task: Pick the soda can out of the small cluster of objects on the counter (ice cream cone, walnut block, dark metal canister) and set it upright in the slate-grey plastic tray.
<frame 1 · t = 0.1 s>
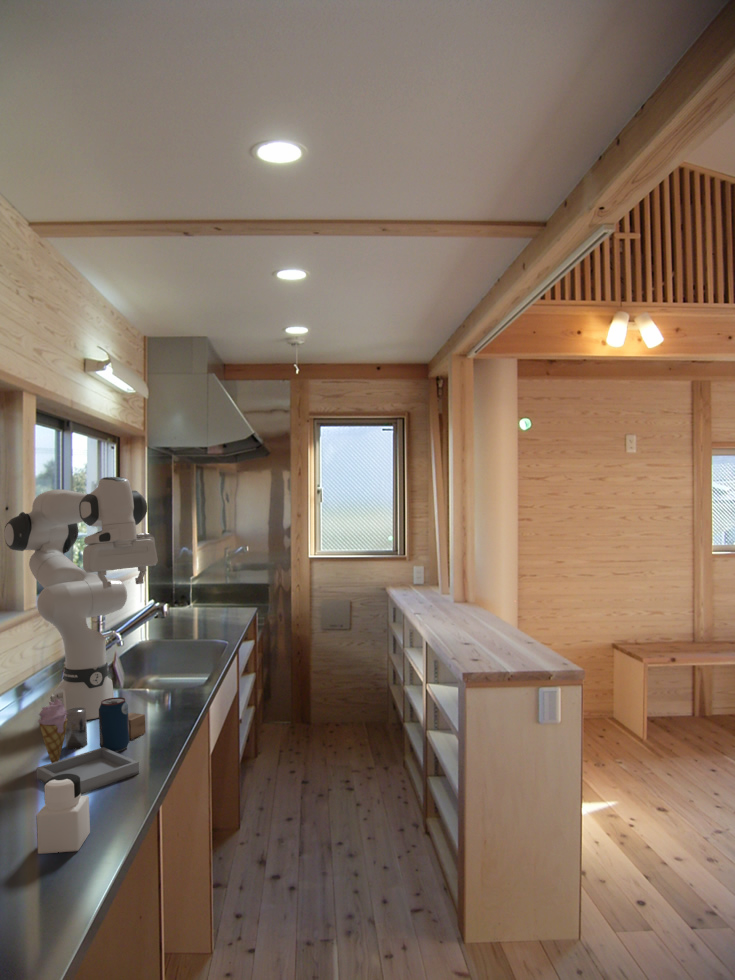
hand: (123, 586, 194), 39 cm above the worktop, tool pointing down, fingers open, 8 cm apart
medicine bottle: (64, 844, 131), on the worktop
slate tray: (88, 776, 162), on the worktop
walnut block: (131, 735, 190), on the worktop
soda can: (114, 749, 180), on the worktop
dark metal canister: (76, 745, 183), on the worktop
ice cream cone: (55, 764, 171), on the worktop
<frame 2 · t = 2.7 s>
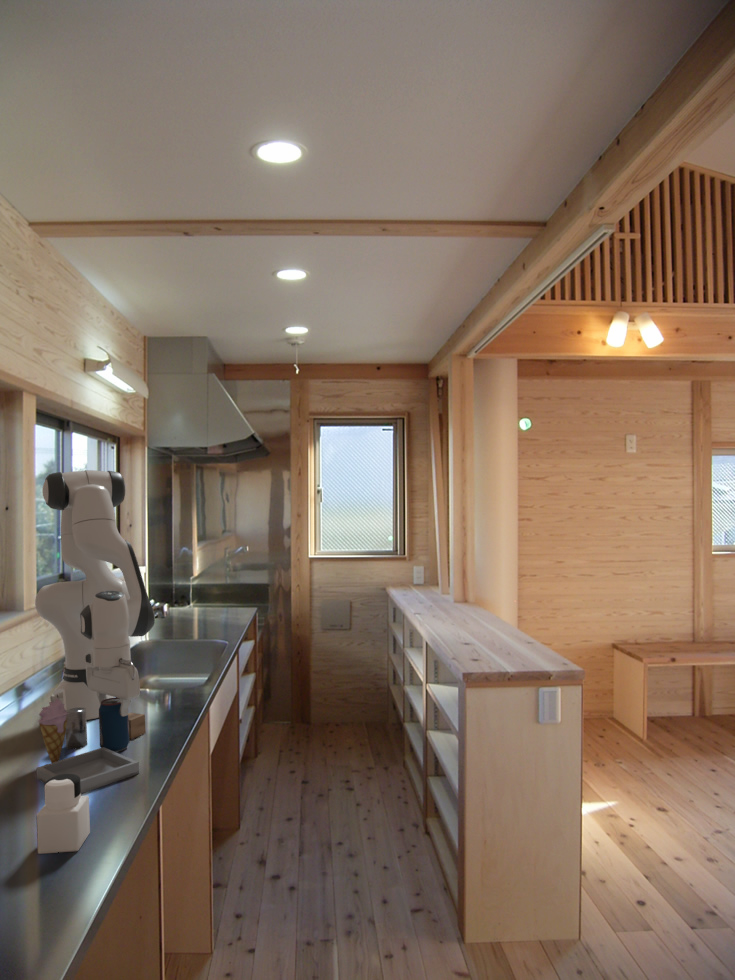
hand: (114, 712, 179), 9 cm above the worktop, tool pointing down, fingers open, 8 cm apart
soda can: (114, 749, 180), on the worktop, touching gripper
everything else where it was.
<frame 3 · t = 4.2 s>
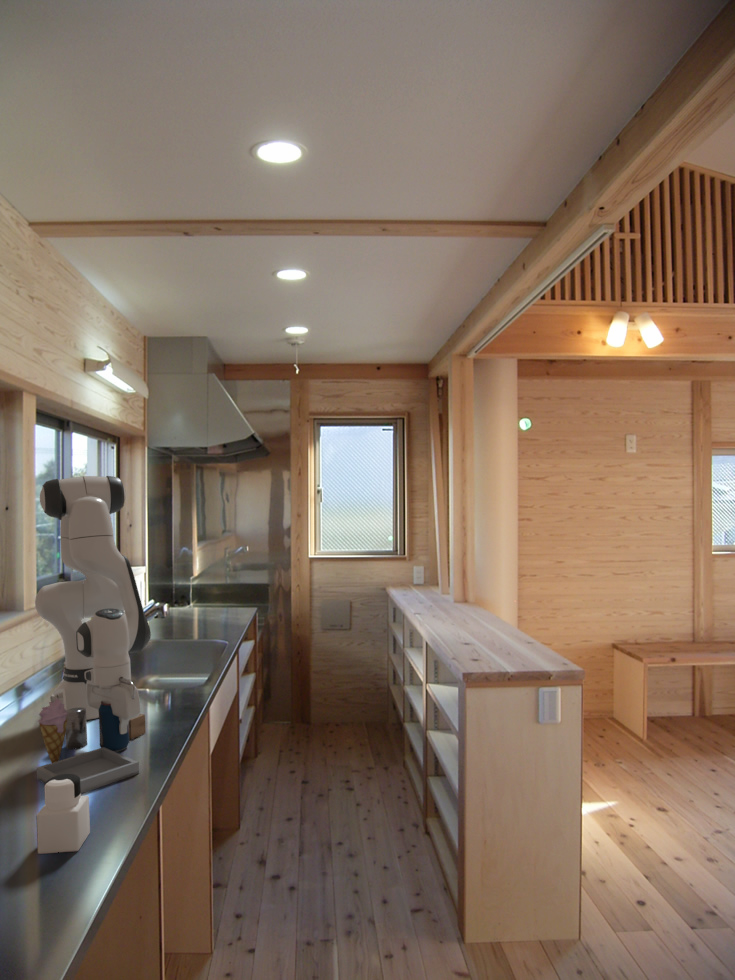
hand: (114, 730, 180), 5 cm above the worktop, tool pointing down, fingers closed on soda can, 7 cm apart
soda can: (114, 749, 180), on the worktop, touching gripper
everything else where it was.
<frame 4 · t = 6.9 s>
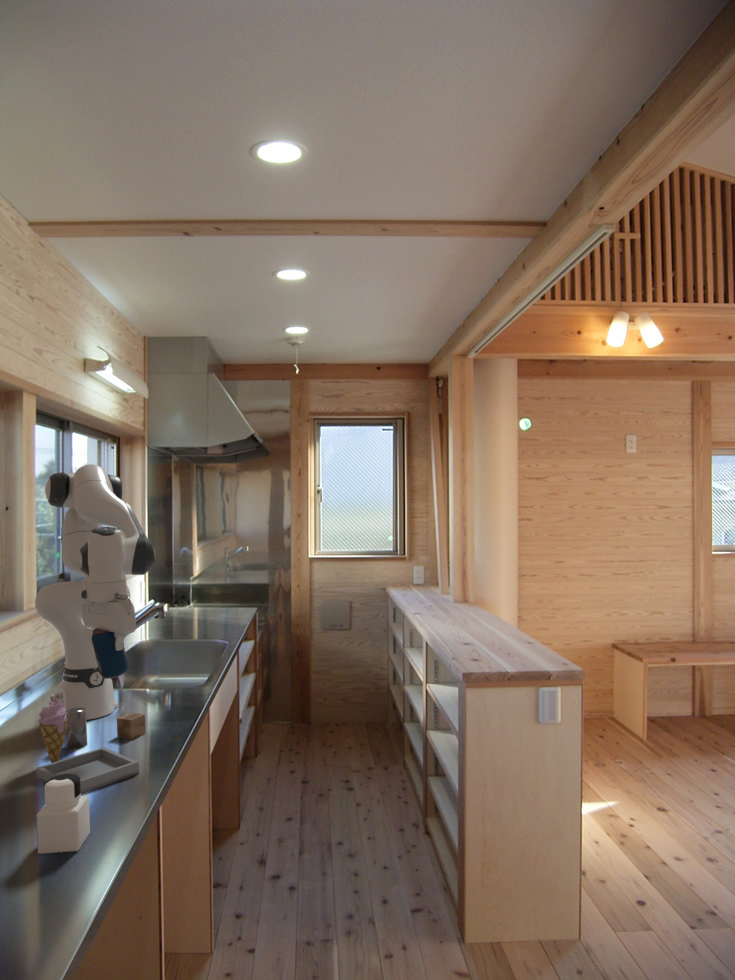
hand: (110, 648, 179), 25 cm above the worktop, tool pointing down, fingers closed on soda can, 7 cm apart
soda can: (115, 674, 179), point 19 cm above the worktop, touching gripper
everything else where it was.
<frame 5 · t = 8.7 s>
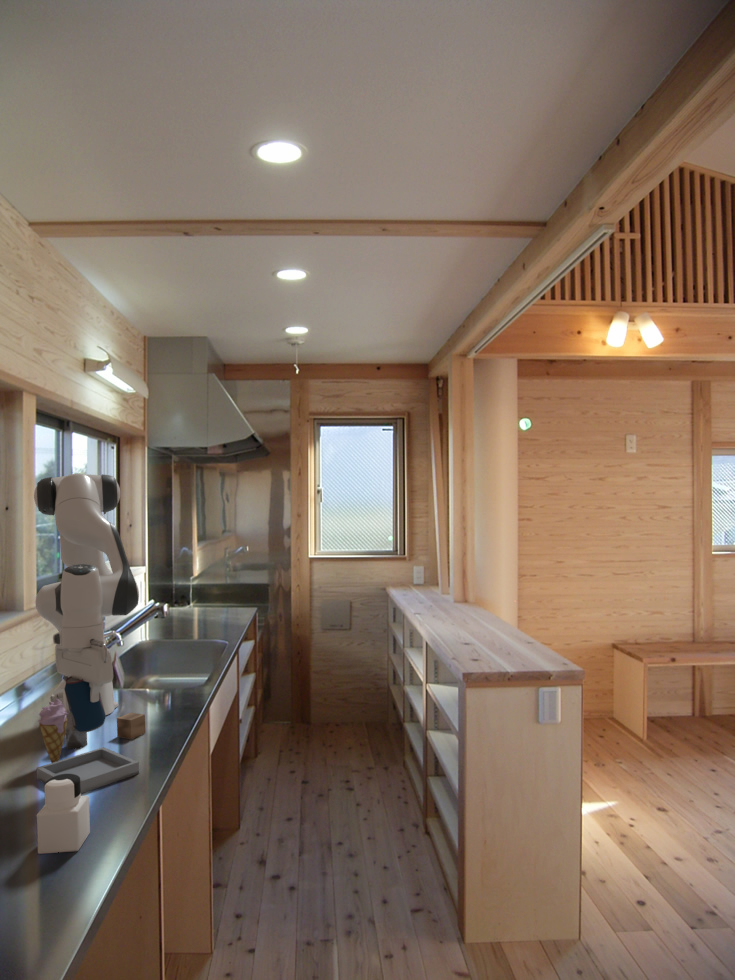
hand: (85, 698, 162), 18 cm above the worktop, tool pointing down, fingers closed on soda can, 7 cm apart
soda can: (91, 727, 163), point 11 cm above the worktop, touching gripper
everything else where it was.
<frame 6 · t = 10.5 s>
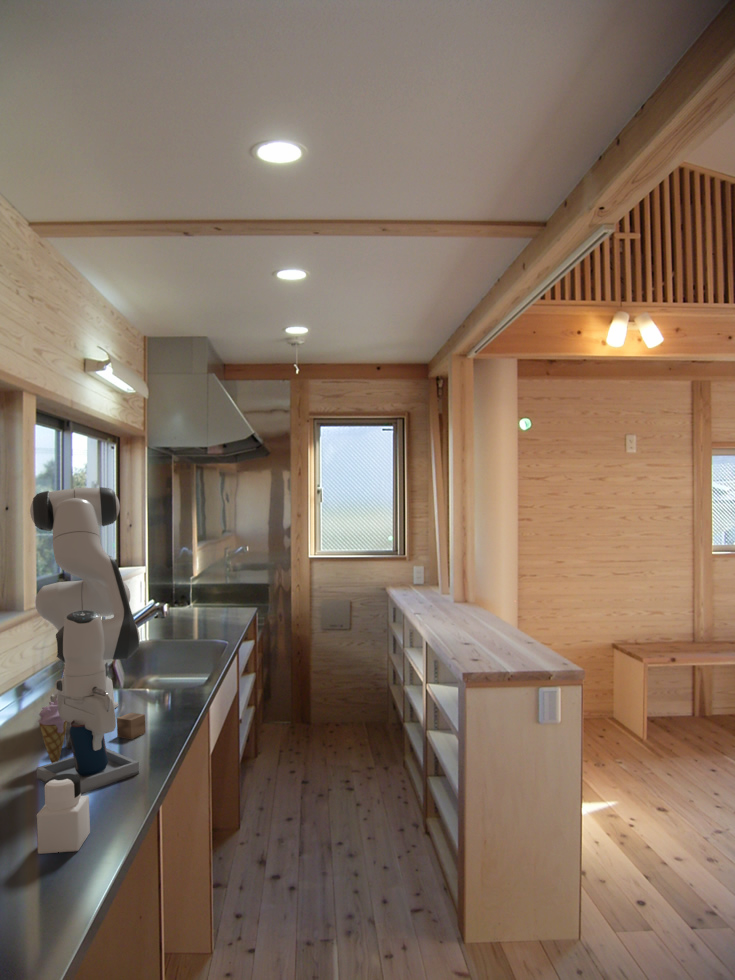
hand: (87, 745, 162), 7 cm above the worktop, tool pointing down, fingers closed on soda can, 6 cm apart
soda can: (93, 771, 163), point 1 cm above the worktop, touching gripper, slate tray
everything else where it was.
when the fingers open (7 cm above the worktop, at t = 10.6 s): soda can stays where it is, resting on slate tray.
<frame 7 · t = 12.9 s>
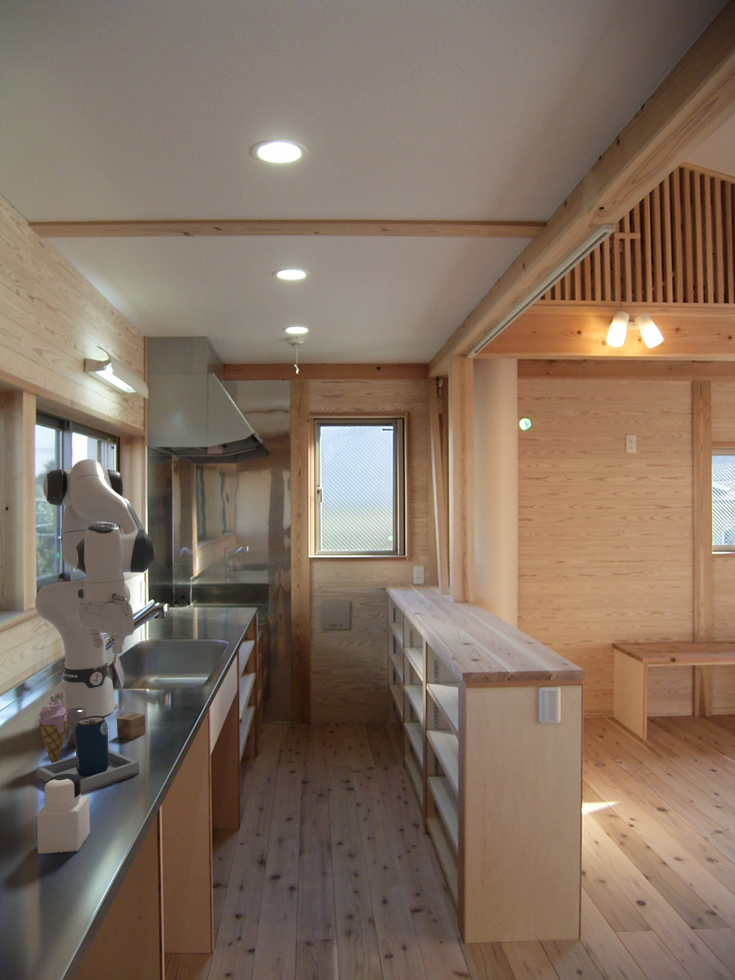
hand: (107, 650, 171), 26 cm above the worktop, tool pointing down, fingers open, 8 cm apart
soda can: (93, 773, 163), resting on slate tray
everything else where it was.
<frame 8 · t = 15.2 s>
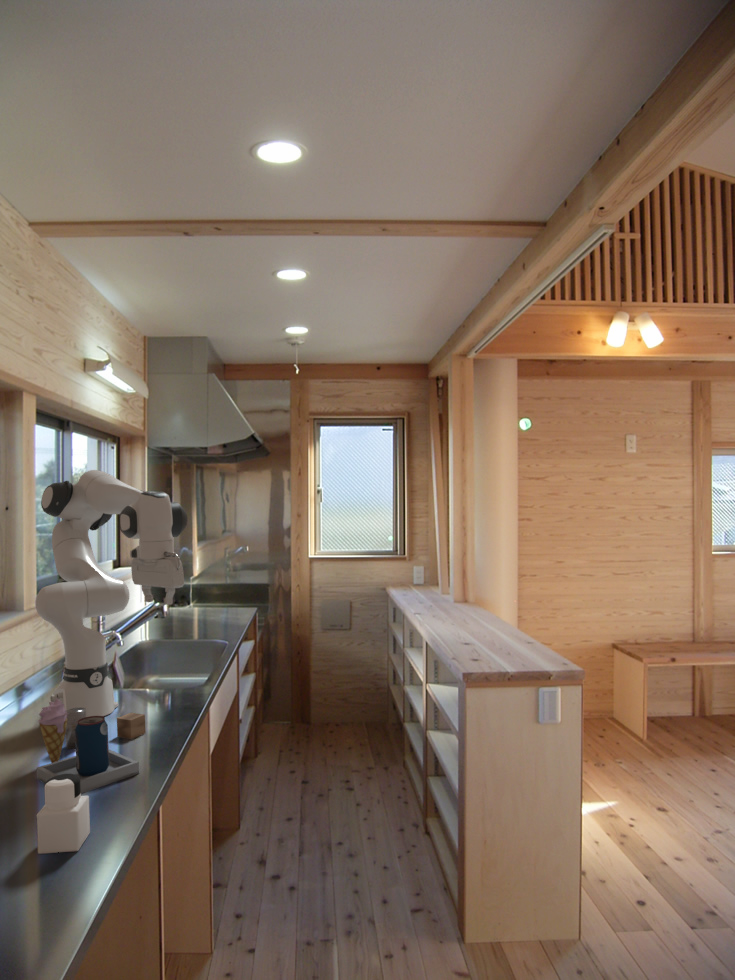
hand: (158, 603, 192), 34 cm above the worktop, tool pointing down, fingers open, 8 cm apart
nothing on the worktop moved.
at the end: soda can inside the target area on the slate tray (1.0 cm from its centre), point 0.4 cm above the slate tray's base; soda can tilted 0°; the gripper is holding nothing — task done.
